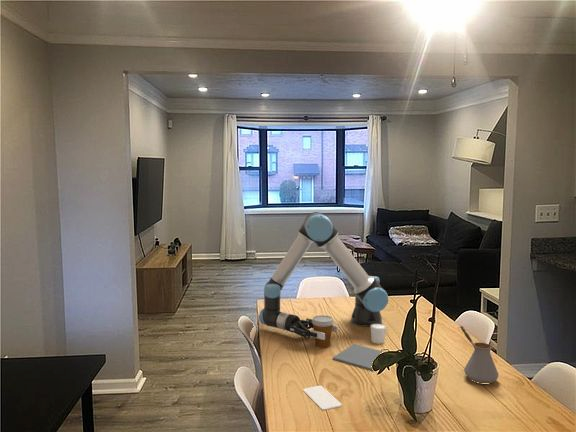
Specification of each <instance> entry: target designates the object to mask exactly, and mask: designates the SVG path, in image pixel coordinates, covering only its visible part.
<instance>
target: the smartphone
mask: <svg viewBox="0 0 576 432" xmlns="http://www.w3.org/2000/svg"><path fill="white" fill-rule="evenodd" d="M303 392H304V393H305V395H307V396H308V397H309V398H310V399H311V400H312V402H313V403H314V404H315V405H317V407H318V408H319V409H321V410H322V411H327V410H331V409H336V408H341V407H342V406H343V405H342V403H341V402H340V401H339V400H338V399H337V398H335V396H333V395H332V394H331V393H330V392H329V391H328V390H327V389H326V388H324V386H323V385H315V386H310V387H305V388H303Z"/></svg>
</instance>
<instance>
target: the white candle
mask: <svg viewBox="0 0 576 432" xmlns="http://www.w3.org/2000/svg"><path fill="white" fill-rule="evenodd" d="M369 327H370V339H371V343H373V344H379V345H381V344H384V343H385V341H386V340H385V339H386V338H385V337H386V331H387V326H386V325H385V324H382V323H381V324H372V325H370V326H369Z"/></svg>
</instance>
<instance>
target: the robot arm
mask: <svg viewBox="0 0 576 432" xmlns="http://www.w3.org/2000/svg"><path fill="white" fill-rule="evenodd" d="M297 232H298V235H297V236H296V238H295V240H294V241H293V243H292V244H291V245H290V248H289V249H288V251H287V252H286V254H285V255H284V257H283V258H282V260H281V261H280V263H279V264H278V266H277V268H276V269H275V271H274V273H273V274H272V276H271V277H270V279H269V280H268V281H267V282H266V283H265V285H264V289H263V296H264V297H263V304H264V306H263V307H264V308H262V309H261V310H259V311H260V312H259V315H258V320H259V322H260V324H261V325H264V326H267V327H272V328H276V329H280V330H282V331H287V332H290V333H294V334H296V335H298V336H300V337H303V338H304V339H305V338H306V339H311V337H312V338H314V339H315V338H318V339H322V340H325V333H322V332H318V331H314V329H313V323H312V320H313V318H306V320H305V319H301V318H300V317H299V316H298V315H295V314H291V313H287V312H283V311H281V293H282V292H281V291H282V290H283V288H284V286H285V285H286V283H287V282H288V280H289V278H290V277H291V275H292V274H293V273H294V271H295V269H296V268H297V266H299V264H300V262H301V260H302V258H303V257H304V256H305V254H306V253H307V251H308V250H309V248H310V246H311V245H312V244H315V245H316V246H317V247H318V248H319V249H323V250H324V251H325V253H326V254H327V255H328V256H329V257H330V259H331V260H332V261H333V263H334V264H335V265H336V266H337V268H338V270H340V271H341V273H342V274H343V275H344V277H345V278H346V279H347V280H348V282H349V283H350V284H351V286H353V293H354V294H355V296H354V297H355V300H354V301H355V302H354V303H355V304H354V308H353V311H352V313H351V317H350V318H351V323H353V324H354V325H358V326H361V327H370V325H372V324H382V323H383V317H382V314H381V311H383V310H384V309H385V308H386V307H387V306H388V304H389V295H388V293H387V291H386V290H385V289H384V288H383V287H382V285H381V284H380V282H381V281H380V278H379V276H376V275H375V276H374V275H373V276H372V275H369V274H368V273H367V272H366V270H365V269H364V268H363V267H362V265H361V264H360V263H359V262H358V261H357V259H356V258H355V257H354V255H353V254H352V253H351V251H350V250H349V249H348V248H347V246H346V245H345V243H343V242H342V240H341V239H340V237H339V231H338V229H337V228H336V227H335V226H334V224H333V223H332V221H331V219H330V218H329V217H328V216H326V215H325V214H323V213H322V212H319V211H318V212H317V211H315V212H314V211H313V212H310V213H309V214H308V215H307V216H306V217H305V218H304V221H303V223H302V224H301V226H300V228H299V229H298V231H297ZM332 333H339V325H334V324H333V327H332Z"/></svg>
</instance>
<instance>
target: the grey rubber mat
mask: <svg viewBox="0 0 576 432" xmlns="http://www.w3.org/2000/svg"><path fill="white" fill-rule="evenodd" d="M382 352H385V351H383V350H379V349H375V348H372V347H368V346H364V345H359V344H355V343H352V344H351V345H350V346H349V347H347V348H345V349H344V350H342V351H340V352H339V353H338V354H336V355H334V356H333V357H332V360H334V361H337V362H339V363H340V362H341V363H345V364H348V365H351V366H355V367H359V368H362V369H365V370H368V371H371V370H372V367H371V366H372V362H373V361H374V359H375V358H376V357H377V356H378V355H379V354H380V353H382Z"/></svg>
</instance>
